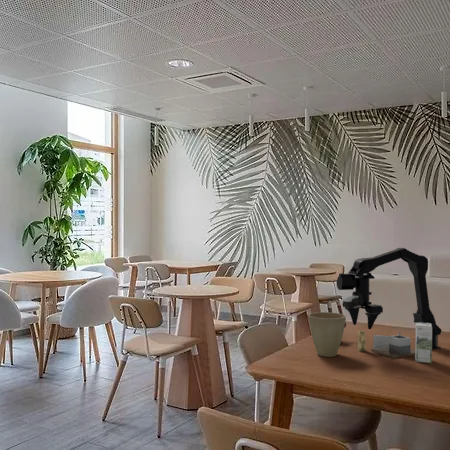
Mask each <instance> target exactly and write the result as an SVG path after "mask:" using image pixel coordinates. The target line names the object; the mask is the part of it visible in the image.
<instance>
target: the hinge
mask: <svg viewBox="0 0 450 450" xmlns="http://www.w3.org/2000/svg"><path fill="white" fill-rule="evenodd" d="M372 341H373V344H372V345H373V346H372V347H373V348H372V349H371V350H370V351H371V353H375V354H377V355H381V356H383V357H386V358H389V359H392V360H393V359H398V358H399V359H400V358H406V357H413V356H414V357H415V352H416V349H412V347H411V343H412V341H411V337H410V336H405V335H402V334H401V331H398V334H395V335H394V334H393V335H379V334H378V335H377V334H373V340H372Z"/></svg>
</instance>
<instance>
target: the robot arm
mask: <svg viewBox="0 0 450 450" xmlns="http://www.w3.org/2000/svg"><path fill="white" fill-rule="evenodd" d="M400 259H401V260H402V261H403V262H405V263H407V267H408V268H409V271H410V273H411V274H412V276H413V284H414V291H415V299H416V300H415V301H416V307H417V310H416V311H415V312H413V313H412V316H413V323H414V324H415V325H416V323H431V325H432V350H435V349H436V350H437V349H441V346H440V345H439V344H438V343H439V340H438V339H439V336H441V334H442V331H443V330H442V329H441V328H440V326H439V325H438V324H437V321H436V318H435V316H434V314H433V312H432V310H431V307H430V300H429V294H428V292H429V290H428V286H427V278H426V277H427V273H428V269H429V259H428V258H427V257H426V256H424V255H421V254H417V253H415V252H413V251H410V250H408V249H407V248H405V247H397V248H395V249H393V250H390V251H387V252H383V253H381V254H378V255H376V256H373V257H362V258H357V259H355V260H354V262H353V263H352V264H353V265H352V267H351V268H350V270H349V271H348V273H341V272H339V273H338V277H337V279H336V288H337V290H338V291H346V290H347V291H349V290H350V291H351V290H352V294H351V296H348V297H345V298H344V299H343V300H342V307H343V308H344V309H345V310H347V312H348V313H349V316H350V319H351V322H352V324H353V325H354V326H355V325H357V322H358V318H359V312H360V309H362V310H363V309H364V310H365V312H364V314H365V315H366V317H367V329H368V330H371V329H373V325H374V323H375V322H376V320H377V319H378V316H380V315H381V314H383V312H384V308H383V306H382V305H381V304H380V305H379V304H377V303H376V304H374V303H373V304H372V301H370V295H372V293H373V292H372V291H370V279H371V280H373V279H375V276H374V275H373V274H372V273H371V272H373V271H374V270H376V269H377V268H378V267H380V266H383V265H386V264H389V263H391V262H395V261H397V260H400Z"/></svg>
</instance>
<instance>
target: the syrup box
mask: <svg viewBox="0 0 450 450" xmlns="http://www.w3.org/2000/svg"><path fill="white" fill-rule="evenodd" d="M415 350H416V352H415V355H414V357H415V362H416V363H423V364H432V362H433V361H432V360H433V358H432V357H433V353H432V351H433V349H432V325H431V323H416V324H415Z"/></svg>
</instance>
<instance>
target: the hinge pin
mask: <svg viewBox="0 0 450 450" xmlns="http://www.w3.org/2000/svg"><path fill="white" fill-rule="evenodd" d="M357 351H358V352H366V330H358V331H357Z"/></svg>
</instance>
